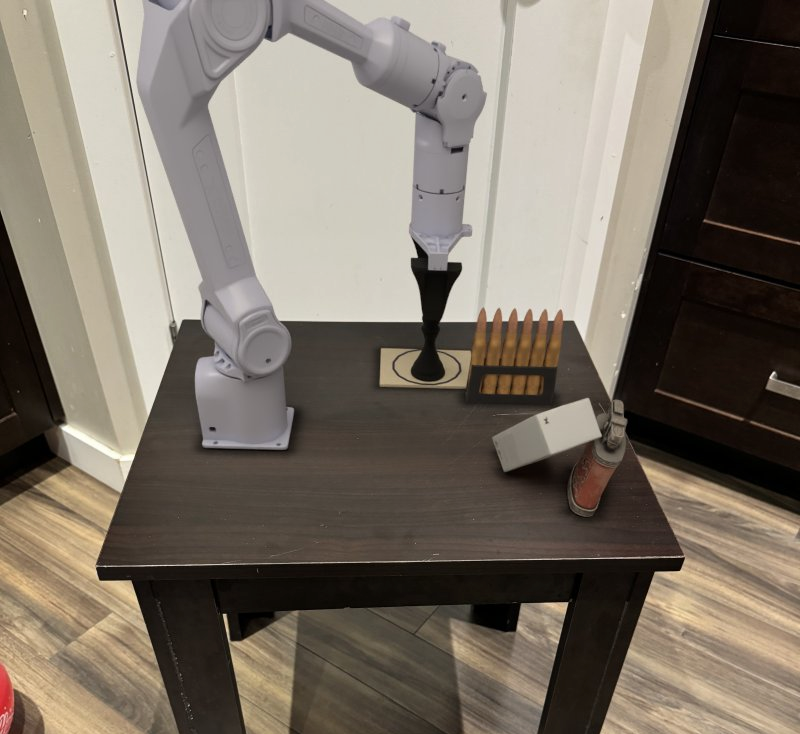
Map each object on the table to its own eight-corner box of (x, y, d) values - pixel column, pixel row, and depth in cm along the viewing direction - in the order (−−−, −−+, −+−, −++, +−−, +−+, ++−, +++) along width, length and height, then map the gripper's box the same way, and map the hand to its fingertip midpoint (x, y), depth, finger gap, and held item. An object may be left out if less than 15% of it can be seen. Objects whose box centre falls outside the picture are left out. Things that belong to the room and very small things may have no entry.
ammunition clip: (550, 395, 96) (567, 306, 88) (552, 404, 94) (570, 313, 86) (464, 394, 95) (474, 303, 87) (466, 402, 94) (475, 311, 86)
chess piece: (403, 369, 98) (406, 296, 92) (431, 360, 100) (436, 288, 93) (423, 385, 96) (428, 311, 89) (451, 376, 98) (458, 302, 91)
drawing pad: (379, 386, 96) (379, 383, 96) (380, 350, 103) (381, 347, 102) (475, 389, 96) (475, 386, 96) (470, 353, 103) (470, 350, 103)
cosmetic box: (503, 474, 84) (549, 456, 72) (490, 437, 84) (534, 413, 72) (551, 457, 85) (604, 436, 74) (538, 420, 85) (589, 395, 74)
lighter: (597, 520, 79) (637, 445, 72) (565, 511, 79) (602, 435, 72) (598, 472, 84) (635, 398, 77) (569, 463, 84) (603, 389, 77)
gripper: (481, 211, 77) (468, 334, 86) (471, 164, 88) (461, 278, 97) (411, 208, 77) (406, 332, 86) (410, 162, 88) (405, 276, 97)
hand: (431, 303), depth 92 cm, fingers open, 7 cm apart
